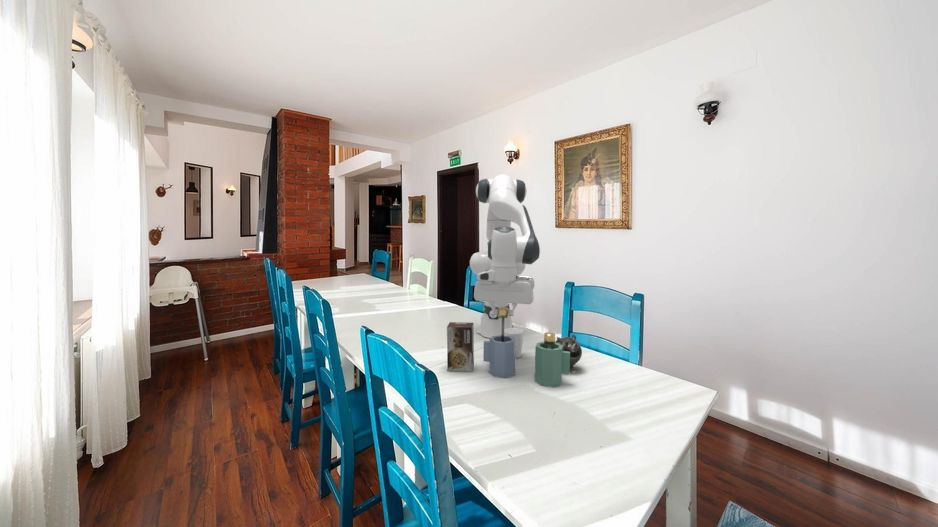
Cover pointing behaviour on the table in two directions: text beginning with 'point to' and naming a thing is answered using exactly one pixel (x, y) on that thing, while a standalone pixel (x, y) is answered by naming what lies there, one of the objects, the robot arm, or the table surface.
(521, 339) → the white cup
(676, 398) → the table surface
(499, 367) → the blue pot
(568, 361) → the green mug
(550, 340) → the shiny brass cylinder
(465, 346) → the coffee box
